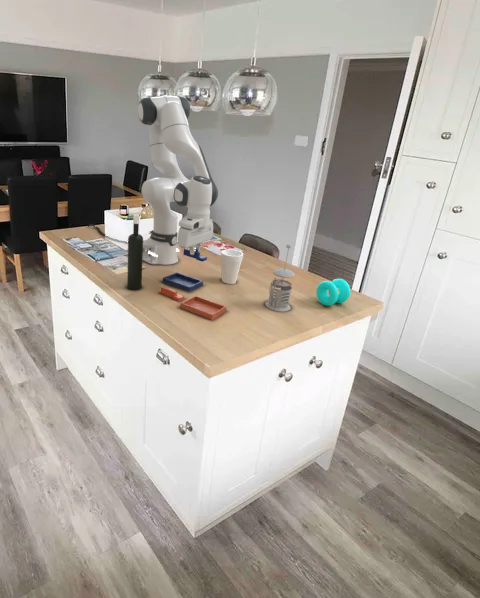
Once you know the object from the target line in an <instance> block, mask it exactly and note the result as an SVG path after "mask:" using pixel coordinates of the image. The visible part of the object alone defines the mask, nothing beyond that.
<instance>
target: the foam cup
mask: <svg viewBox="0 0 480 598" xmlns="http://www.w3.org/2000/svg"><path fill="white" fill-rule="evenodd" d="M220 259H221V260H220V265H221V266H220V267H221V269H220V270H221V282H222V283H224V284H227V285H228V284H229V285H234V284H236V283H237V279H238V277H239V273H240V269H241V265H242V262H243V260H244V252H242V251H240V250H238V249H237V250H236V249H223V250H221V252H220Z"/></svg>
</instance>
